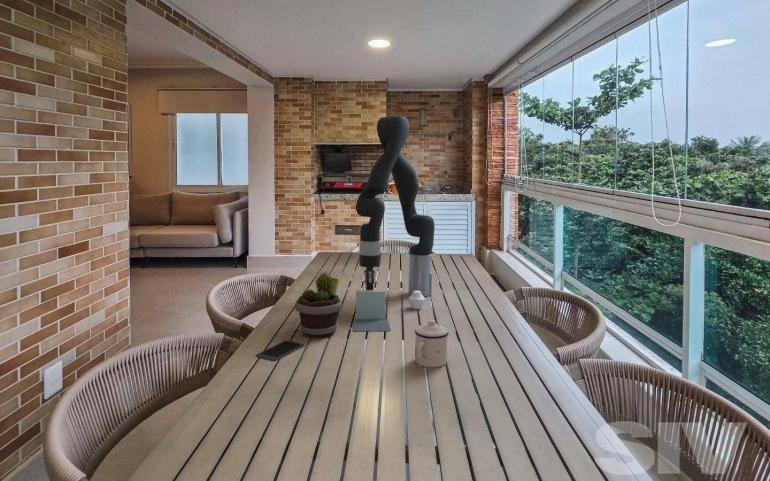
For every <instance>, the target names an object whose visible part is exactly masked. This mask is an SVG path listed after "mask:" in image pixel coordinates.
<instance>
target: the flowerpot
mask: <svg viewBox="0 0 770 481" xmlns="http://www.w3.org/2000/svg"><path fill="white" fill-rule="evenodd" d="M323 271H324V272H322V273H321V274H319V275H317V277H316V278H315V279H314V282H315V281H316V279H317V281H316V282H317V285H316V282H315V284H314V286H315V288H316V289H315V288H314V289H315V290H313V289H310V287H308V289H306V290H305V289H303V293H302V295H301V296H299V297H298V299H297V300H296V302H295V304H294V308H295V311H297V312H298V315H299V320H300V324H299V328H300V330H301V332H302V333H303V335H304V336H306V337H309V338H310V337H311V338H317V337H320V338H325V337H330V336H332V335H334V334H335V332H336V331H337V329H338V325H339V322H338V320H337V319H338V317H339V311H340V310H342V307H343V302H342V300H341V298H340V297H339V295H338V294H336V295H334V294H332V292H331V290H332V288H331V287H332V286H333V285H331V284H332V282H333V281H334V280H332V279H330V278H334V277H333V276H331V275H329V272H328V271H327V270H326V271H325V269H324V270H323ZM331 281H332V282H331ZM317 287H318V288H317Z"/></svg>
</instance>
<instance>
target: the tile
mask: <svg viewBox="0 0 770 481" xmlns="http://www.w3.org/2000/svg"><path fill="white" fill-rule="evenodd" d="M385 315H386V290H385V289H380V290H379V289H373V290H366V289H364V290H360V289H355V319H386V317H385Z"/></svg>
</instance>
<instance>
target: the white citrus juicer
mask: <svg viewBox="0 0 770 481" xmlns="http://www.w3.org/2000/svg"><path fill="white" fill-rule="evenodd" d="M425 301H426V298H425V297H423V296H422V293H421V292H420V291H413V292H412V295H410V296H409V297H408V302H409V305H410V306H411V308H412V309H413V310H421V309H422V307H423V305H424V303H425Z"/></svg>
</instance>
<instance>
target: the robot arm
mask: <svg viewBox="0 0 770 481" xmlns="http://www.w3.org/2000/svg"><path fill="white" fill-rule="evenodd" d="M376 133H377V137H378V140H379V142H380V145H381V147H382V149H383V151H384V152H383V153H382V154H381V156H380V157H378V159H377V160H376V161H375V163H374V164H373V166H372V168H371V171H370V174H369V176H368V180H367V183H366V185H365V186H364V187H363V189H362V191H361V193H360V194H359V196H358V198H357V199H356V202H355V211H356V213H357V215H358V216H360V217H363V218H364V217H365V218H370V219H369V221H368V222H367V223H363V224H362V225H360V229H359V246H358V248H359V249H358V250H359V253H358V254H359V256H358V262H359V263H358V264H359V266H360V267H362V268H365V269H364V270H363V275H364V284H365V285H364V286H365V290H375V289H374V285H375V277H376V270H375V269H374V268H377V267H380V265H381V240H380V239H381V236H380V234H381V233H380V231H381V226H382V222H383V218H384V216H385V211H386V207H385V203H384V201H383V200H382V199H381V198H380V197H377V196H379V195H382V194H384V193H386V190H387V186H388V183H389V180H390V177H391V175H392V180H393V183H394V186H395V189H396V193H397V195H398V199H399V204H400V206H401V211H402V216H403V217H402V218H403V222H404V223H403V224H404V227H405V230H406V233H407V234H408V236H410V237H414V238H419V239H418V240H419V241H418V243H417V244H414V245H411V246H409V250H408V251H409V254H408V255H409V256H408V258H409V259H408V295H410V296H411V295H412V292H413V291H420V292H421V293H422V296H423V297H424V298H425V297H432V295H433V294H432V292H433V291H432V290H433V289H432V287H433V273H432V254H433V248H434V242H435V241H434V239H435V225H436V224H435V221H434V218H433V217H432V216H430V215H426V214H425V215H423V214H418V213H417V210H416V205H415V202H416V198H417V195H418V192H419V187H420V183H419V179H418V175H417V171H416V169H415V167H414V165H412V163H411V162H410V160H408V158H407V157H406V156H405V155H404V154H403V153H402V149H403V147H404V146H405V143H406V141H407V139H408V136H409V134H410V123H409V120H408V119H407V117H405V116H403V115H392V116H390V115H389V116H384V117H383V116H382V117H380V118H379V119H378V120H377V122H376Z"/></svg>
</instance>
